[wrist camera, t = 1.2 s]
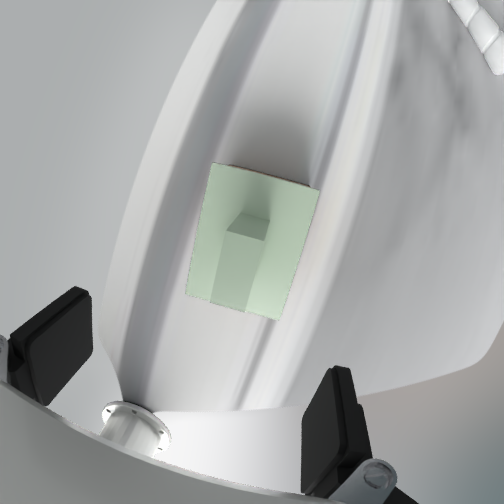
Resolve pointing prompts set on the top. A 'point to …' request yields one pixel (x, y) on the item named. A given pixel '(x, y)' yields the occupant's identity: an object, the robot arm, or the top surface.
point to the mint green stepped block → (249, 240)
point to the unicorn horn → (482, 32)
